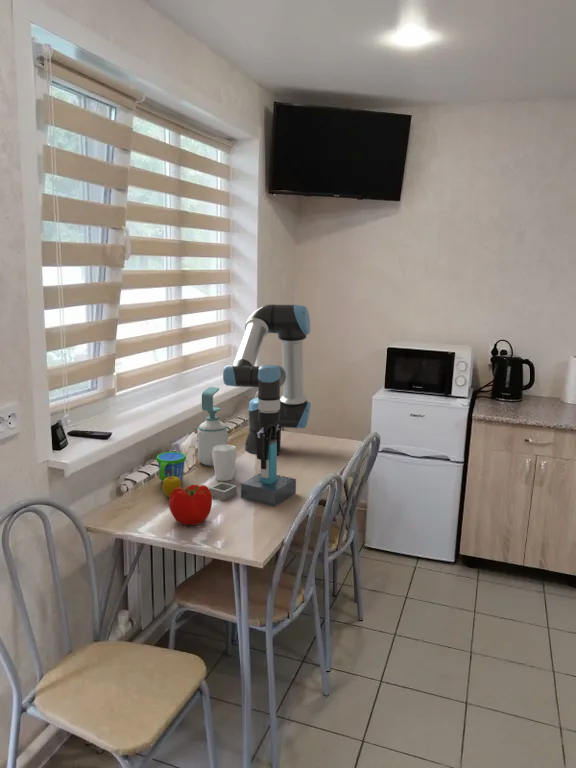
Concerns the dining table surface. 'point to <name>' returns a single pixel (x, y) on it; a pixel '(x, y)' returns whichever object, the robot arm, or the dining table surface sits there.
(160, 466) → the snack cup
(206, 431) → the soap bottle
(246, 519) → the dining table surface
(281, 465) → the dining table surface
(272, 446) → the plug
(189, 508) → the tomato
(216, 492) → the holster
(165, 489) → the apple
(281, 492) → the port
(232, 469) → the cup
